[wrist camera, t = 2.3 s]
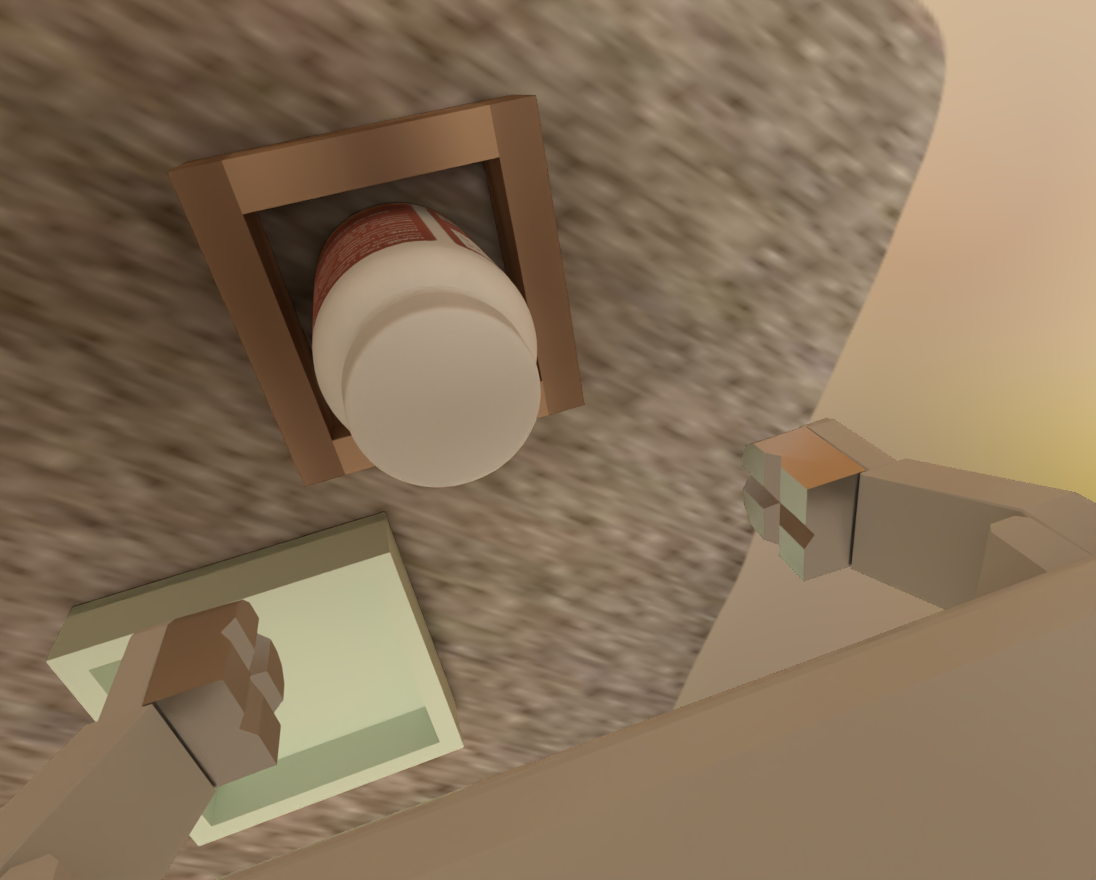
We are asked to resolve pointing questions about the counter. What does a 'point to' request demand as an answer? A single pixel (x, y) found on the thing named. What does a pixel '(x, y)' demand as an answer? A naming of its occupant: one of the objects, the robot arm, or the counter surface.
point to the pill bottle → (423, 347)
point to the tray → (298, 664)
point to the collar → (355, 162)
